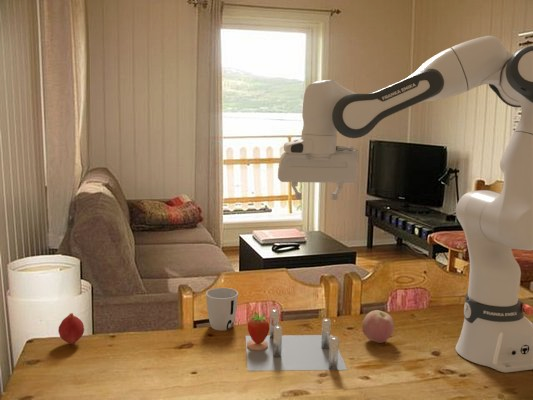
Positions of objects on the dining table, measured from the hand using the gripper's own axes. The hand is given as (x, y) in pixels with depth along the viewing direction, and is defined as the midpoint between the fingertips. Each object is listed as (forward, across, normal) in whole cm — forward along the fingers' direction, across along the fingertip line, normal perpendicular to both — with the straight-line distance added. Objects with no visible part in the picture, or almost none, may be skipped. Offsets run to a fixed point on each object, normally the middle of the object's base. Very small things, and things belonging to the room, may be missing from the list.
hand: (316, 199), depth 143 cm
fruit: (+33, +15, +15) cm, 39 cm away
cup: (+34, +24, +3) cm, 42 cm away
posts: (+33, +5, +18) cm, 38 cm away
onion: (+34, +60, +11) cm, 70 cm away
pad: (+33, +15, +15) cm, 39 cm away
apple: (+34, -15, +11) cm, 39 cm away
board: (+34, +7, +18) cm, 39 cm away
